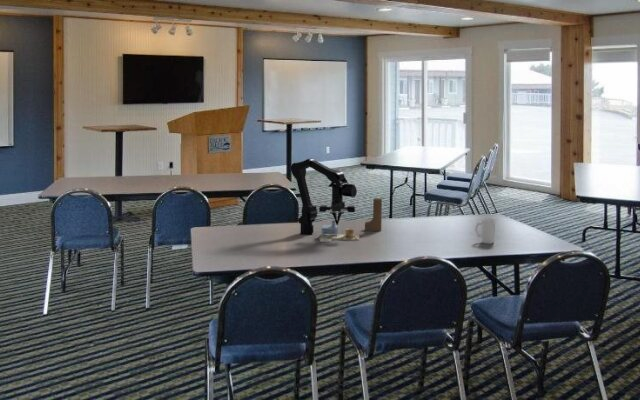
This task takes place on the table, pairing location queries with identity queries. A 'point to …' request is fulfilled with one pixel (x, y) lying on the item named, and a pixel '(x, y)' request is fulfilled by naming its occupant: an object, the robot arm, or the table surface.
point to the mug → (486, 230)
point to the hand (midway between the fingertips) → (337, 224)
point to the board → (338, 237)
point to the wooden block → (375, 216)
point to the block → (349, 232)
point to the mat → (325, 240)
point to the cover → (329, 229)
